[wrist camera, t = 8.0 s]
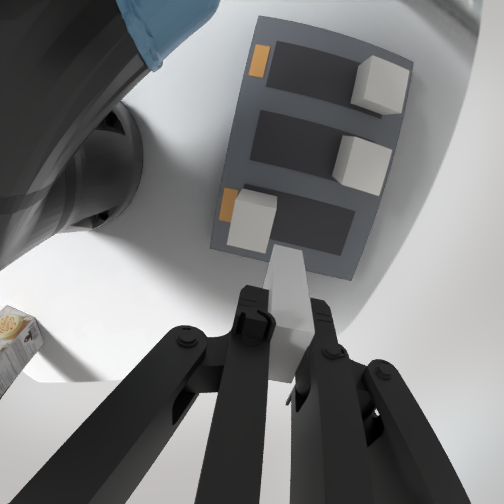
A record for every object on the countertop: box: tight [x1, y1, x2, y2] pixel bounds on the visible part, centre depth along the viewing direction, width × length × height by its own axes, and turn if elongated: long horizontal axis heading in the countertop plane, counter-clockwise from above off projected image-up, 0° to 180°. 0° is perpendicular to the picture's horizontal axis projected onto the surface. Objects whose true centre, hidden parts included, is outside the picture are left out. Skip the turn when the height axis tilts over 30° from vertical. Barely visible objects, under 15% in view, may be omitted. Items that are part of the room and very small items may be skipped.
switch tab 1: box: [227, 188, 277, 253], centre depth 23 cm, size 3×4×4 cm
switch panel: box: [210, 16, 414, 281], centre depth 23 cm, size 14×22×2 cm, turn 168°
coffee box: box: [0, 305, 44, 399], centre depth 32 cm, size 9×6×16 cm
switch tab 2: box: [350, 55, 409, 115], centre depth 18 cm, size 3×4×4 cm
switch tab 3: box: [332, 135, 392, 196], centre depth 20 cm, size 3×4×4 cm
